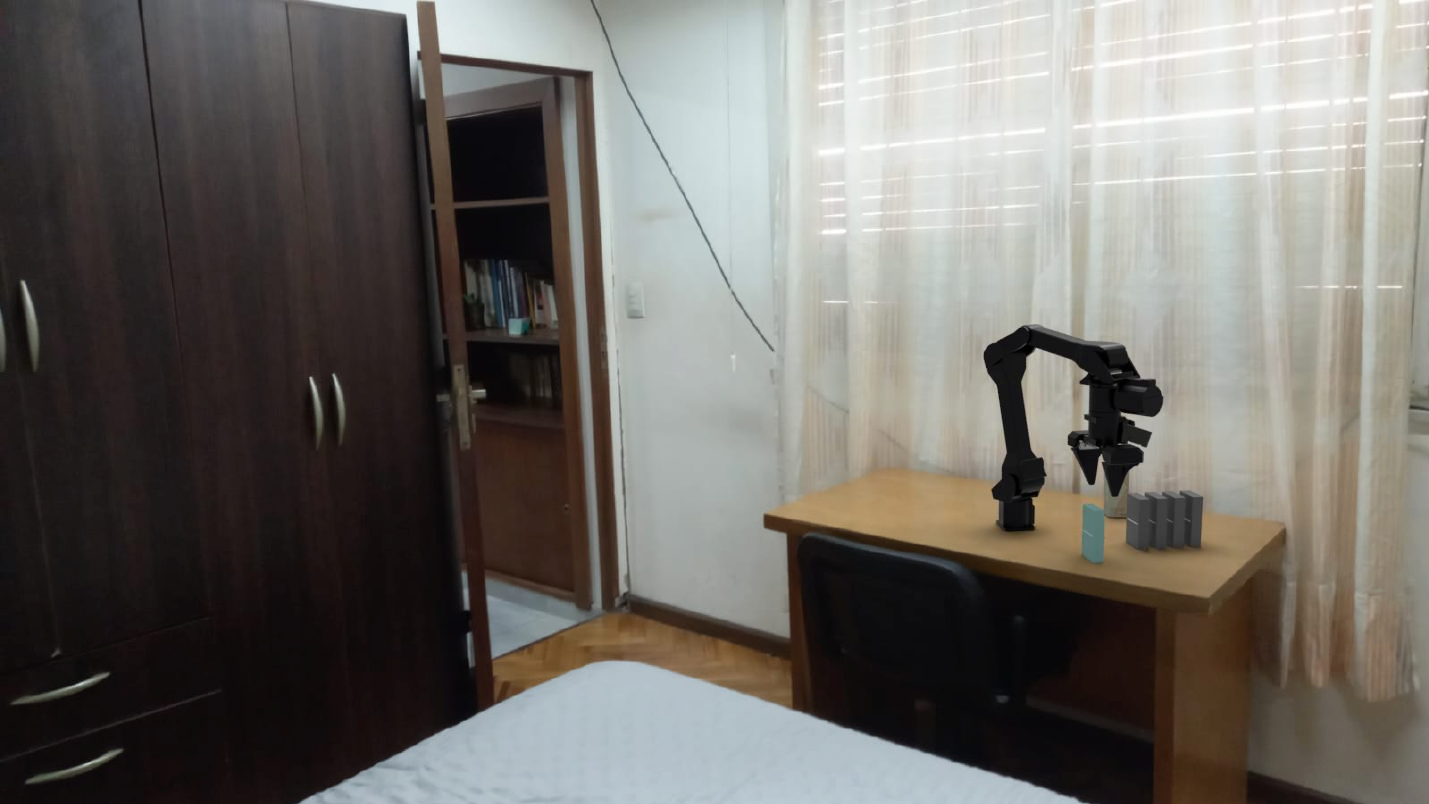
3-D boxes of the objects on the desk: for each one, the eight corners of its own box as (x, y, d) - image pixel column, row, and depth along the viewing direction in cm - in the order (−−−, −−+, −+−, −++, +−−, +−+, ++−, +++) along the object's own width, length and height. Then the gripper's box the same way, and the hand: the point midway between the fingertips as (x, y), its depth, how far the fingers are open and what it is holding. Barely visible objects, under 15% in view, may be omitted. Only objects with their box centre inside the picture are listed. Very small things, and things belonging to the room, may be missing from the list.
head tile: (1092, 562, 179) (1094, 511, 177) (1081, 554, 184) (1082, 504, 182) (1103, 562, 179) (1105, 510, 177) (1092, 553, 184) (1093, 503, 182)
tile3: (1155, 548, 185) (1157, 499, 184) (1142, 541, 190) (1144, 492, 189) (1165, 548, 186) (1167, 498, 184) (1153, 540, 190) (1154, 491, 189)
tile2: (1137, 549, 185) (1139, 499, 184) (1125, 541, 190) (1127, 493, 189) (1148, 549, 185) (1149, 499, 184) (1135, 541, 190) (1137, 492, 189)
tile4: (1173, 547, 186) (1175, 498, 184) (1160, 540, 191) (1161, 491, 189) (1183, 547, 186) (1185, 497, 184) (1170, 539, 191) (1172, 491, 189)
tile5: (1190, 547, 186) (1192, 497, 184) (1177, 539, 191) (1179, 490, 189) (1201, 546, 186) (1203, 496, 184) (1187, 538, 191) (1189, 490, 189)
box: (1128, 518, 206) (1130, 468, 204) (1107, 517, 207) (1108, 468, 205) (1123, 511, 211) (1124, 462, 209) (1102, 511, 212) (1104, 462, 210)
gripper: (1173, 416, 171) (1170, 500, 174) (1121, 400, 189) (1119, 477, 192) (1113, 419, 170) (1111, 504, 173) (1067, 403, 189) (1065, 480, 191)
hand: (1102, 490), depth 182 cm, fingers open, 9 cm apart
